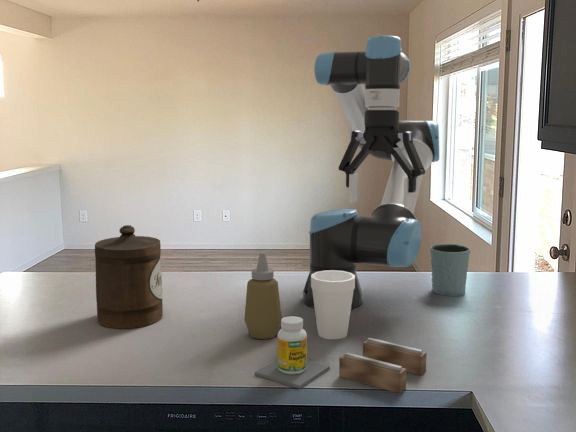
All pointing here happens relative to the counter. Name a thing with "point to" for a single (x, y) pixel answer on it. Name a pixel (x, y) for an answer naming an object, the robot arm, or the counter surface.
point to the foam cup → (332, 302)
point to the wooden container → (128, 280)
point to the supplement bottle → (292, 346)
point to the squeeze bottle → (262, 302)
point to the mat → (292, 380)
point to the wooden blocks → (383, 364)
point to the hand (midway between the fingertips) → (379, 204)
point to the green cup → (449, 268)
